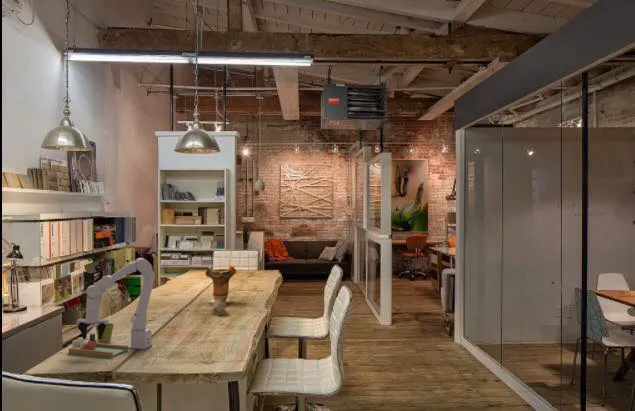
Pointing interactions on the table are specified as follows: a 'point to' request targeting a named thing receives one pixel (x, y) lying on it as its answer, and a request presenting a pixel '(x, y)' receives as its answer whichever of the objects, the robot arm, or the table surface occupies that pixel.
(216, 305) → the ceramic model
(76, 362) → the table surface
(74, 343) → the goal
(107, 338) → the plant pot
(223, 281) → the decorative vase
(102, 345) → the pitch
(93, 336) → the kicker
